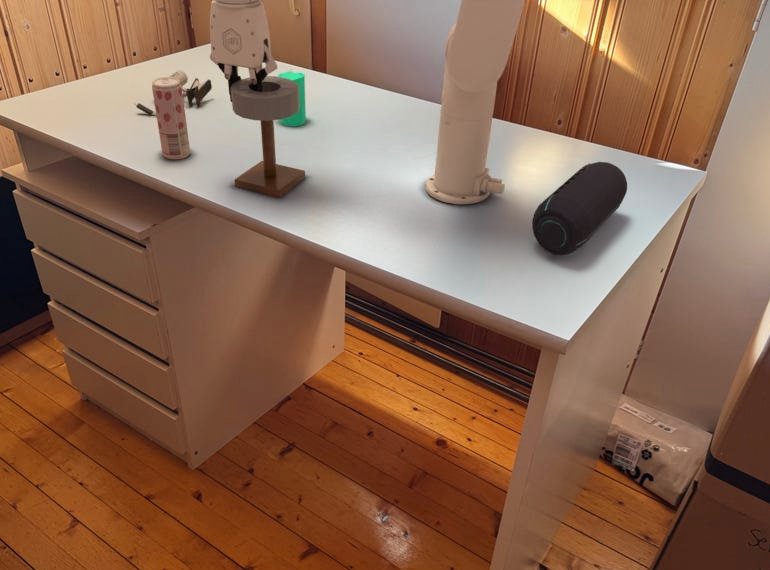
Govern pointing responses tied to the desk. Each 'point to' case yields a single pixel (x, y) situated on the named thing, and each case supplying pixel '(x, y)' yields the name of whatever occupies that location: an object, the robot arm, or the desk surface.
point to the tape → (266, 99)
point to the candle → (300, 115)
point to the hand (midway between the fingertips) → (246, 101)
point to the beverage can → (171, 117)
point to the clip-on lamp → (186, 90)
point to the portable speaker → (579, 208)
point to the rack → (269, 169)
